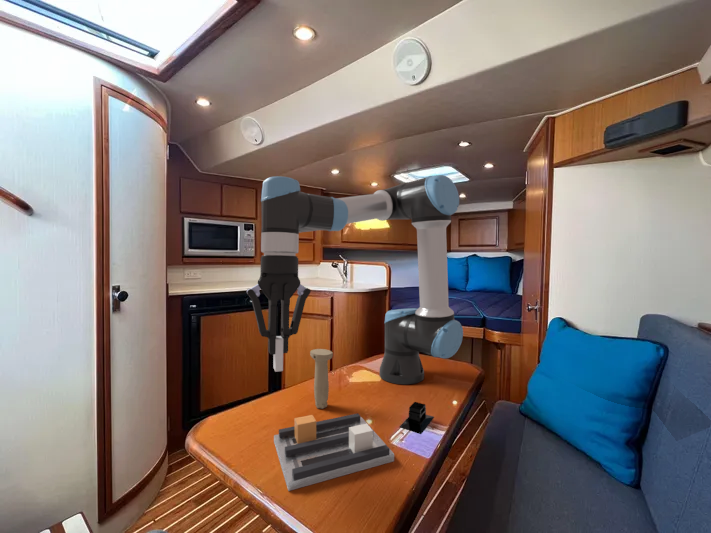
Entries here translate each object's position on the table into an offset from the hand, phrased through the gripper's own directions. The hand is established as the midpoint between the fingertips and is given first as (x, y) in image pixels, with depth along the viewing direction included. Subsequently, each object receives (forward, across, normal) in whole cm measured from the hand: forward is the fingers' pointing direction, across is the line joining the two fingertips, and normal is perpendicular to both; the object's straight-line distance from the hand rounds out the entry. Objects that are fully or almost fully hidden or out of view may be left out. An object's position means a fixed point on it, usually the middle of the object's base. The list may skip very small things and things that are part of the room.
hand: (278, 369), depth 65 cm
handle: (+17, -15, -16) cm, 28 cm away
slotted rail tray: (+16, -11, +4) cm, 19 cm away
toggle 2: (+16, -15, +8) cm, 23 cm away
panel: (+17, -11, +4) cm, 21 cm away
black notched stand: (+18, -34, +1) cm, 38 cm away
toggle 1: (+16, -6, 0) cm, 17 cm away
